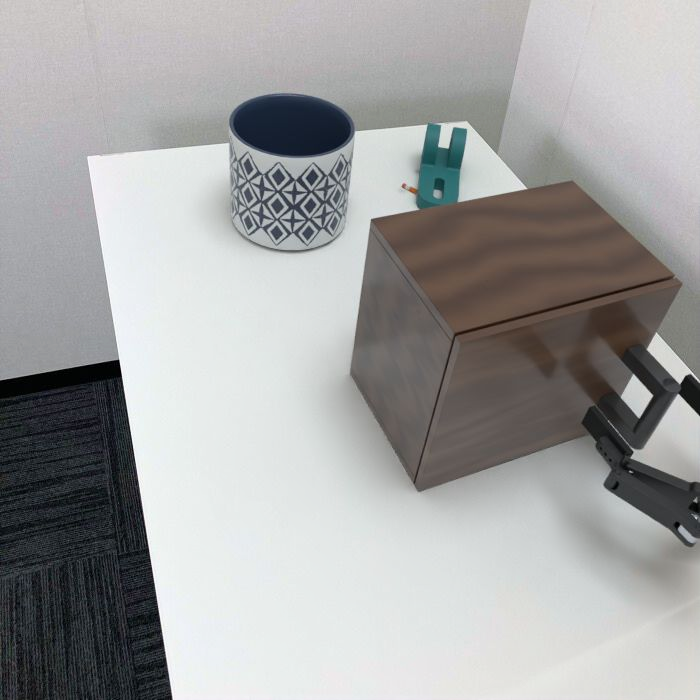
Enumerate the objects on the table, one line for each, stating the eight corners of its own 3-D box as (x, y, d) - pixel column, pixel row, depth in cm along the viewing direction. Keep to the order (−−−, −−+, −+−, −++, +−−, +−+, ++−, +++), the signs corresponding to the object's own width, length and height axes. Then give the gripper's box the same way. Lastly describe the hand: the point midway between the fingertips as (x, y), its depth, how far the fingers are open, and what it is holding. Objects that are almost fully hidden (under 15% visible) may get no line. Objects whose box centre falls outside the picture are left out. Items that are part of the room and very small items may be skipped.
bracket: (421, 155, 134) (429, 115, 128) (458, 161, 134) (467, 121, 128) (414, 212, 121) (422, 171, 116) (455, 218, 121) (465, 177, 115)
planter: (226, 186, 121) (223, 92, 110) (334, 183, 125) (343, 92, 113) (236, 256, 109) (234, 159, 97) (355, 250, 113) (367, 156, 101)
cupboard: (596, 422, 93) (675, 274, 76) (413, 484, 84) (454, 332, 67) (519, 327, 104) (572, 179, 87) (349, 373, 95) (370, 218, 78)
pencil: (403, 185, 127) (404, 182, 126) (492, 230, 120) (493, 227, 119) (401, 187, 126) (401, 184, 126) (490, 233, 119) (491, 229, 119)
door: (639, 472, 88) (732, 329, 71) (448, 544, 79) (502, 399, 62) (598, 423, 93) (676, 277, 76) (414, 485, 84) (455, 335, 67)
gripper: (665, 627, 67) (535, 449, 80) (850, 539, 76) (705, 391, 89) (701, 590, 62) (555, 405, 75) (895, 499, 70) (734, 347, 83)
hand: (636, 397), depth 82 cm, fingers open, 13 cm apart
